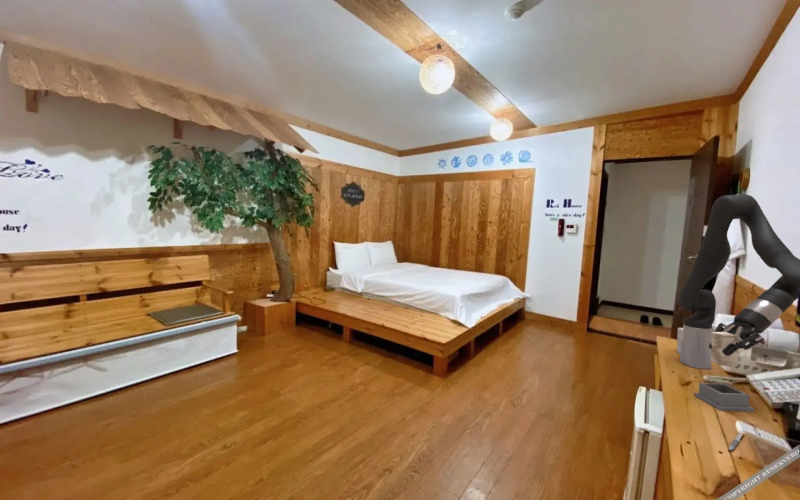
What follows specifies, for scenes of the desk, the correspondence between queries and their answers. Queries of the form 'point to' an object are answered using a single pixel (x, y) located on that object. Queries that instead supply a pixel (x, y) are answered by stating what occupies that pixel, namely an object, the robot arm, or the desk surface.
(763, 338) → the robot arm
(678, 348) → the skincare box
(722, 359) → the cream block
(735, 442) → the pen
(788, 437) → the desk surface
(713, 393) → the pocket stand
